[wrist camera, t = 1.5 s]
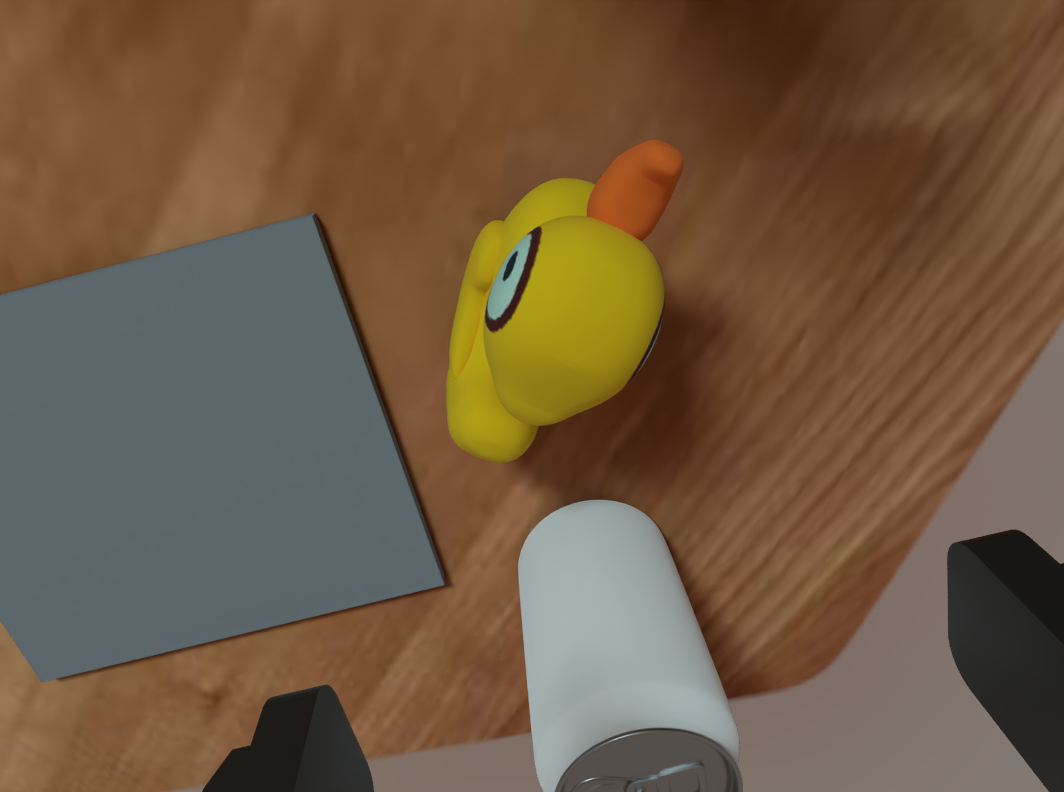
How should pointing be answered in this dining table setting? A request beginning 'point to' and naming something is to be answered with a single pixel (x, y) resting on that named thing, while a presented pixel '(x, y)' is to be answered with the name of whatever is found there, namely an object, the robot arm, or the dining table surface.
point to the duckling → (558, 303)
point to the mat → (194, 454)
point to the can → (618, 661)
